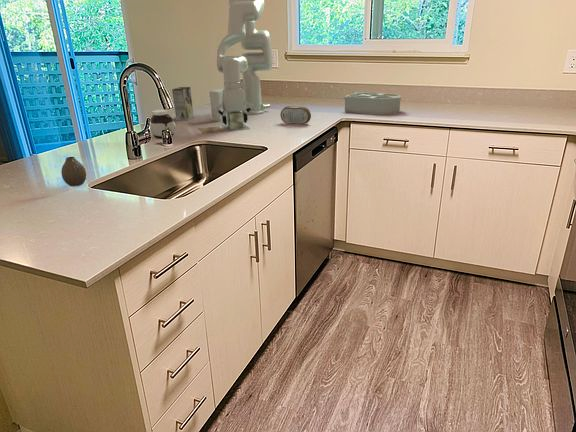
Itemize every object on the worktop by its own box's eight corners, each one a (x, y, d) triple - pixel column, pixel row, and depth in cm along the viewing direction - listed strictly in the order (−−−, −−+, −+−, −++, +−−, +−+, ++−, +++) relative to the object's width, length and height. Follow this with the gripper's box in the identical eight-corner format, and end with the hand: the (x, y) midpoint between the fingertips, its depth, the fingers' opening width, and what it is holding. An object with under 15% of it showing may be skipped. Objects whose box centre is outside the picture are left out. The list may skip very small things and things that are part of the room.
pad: (218, 127, 211) (218, 126, 211) (224, 132, 201) (224, 131, 201) (198, 129, 208) (197, 128, 208) (202, 134, 198) (202, 133, 198)
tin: (311, 124, 212) (311, 106, 209) (309, 125, 210) (309, 107, 206) (282, 122, 217) (281, 105, 214) (280, 124, 214) (279, 106, 211)
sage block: (240, 125, 211) (239, 110, 209) (243, 127, 206) (242, 112, 203) (228, 126, 210) (226, 112, 207) (231, 129, 204) (229, 114, 202)
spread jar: (154, 140, 191) (150, 113, 186) (149, 135, 200) (144, 109, 196) (181, 136, 196) (177, 110, 191) (175, 131, 205) (171, 106, 201)
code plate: (243, 124, 216) (243, 123, 216) (250, 130, 204) (250, 129, 203) (221, 126, 212) (221, 125, 212) (227, 132, 200) (227, 131, 200)
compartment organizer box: (356, 107, 251) (357, 92, 248) (404, 111, 237) (405, 94, 233) (344, 112, 239) (344, 96, 235) (393, 116, 224) (394, 99, 221)
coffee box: (183, 117, 238) (179, 86, 232) (194, 117, 237) (190, 86, 231) (175, 120, 230) (171, 89, 224) (187, 120, 229) (183, 89, 222)
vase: (69, 181, 142) (62, 155, 138) (91, 180, 142) (85, 154, 139) (61, 188, 135) (54, 161, 132) (83, 187, 136) (77, 160, 132)
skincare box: (222, 118, 231) (220, 88, 225) (232, 119, 228) (229, 88, 222) (211, 121, 225) (208, 90, 219) (221, 122, 222) (218, 91, 215)
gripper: (248, 83, 206) (250, 120, 213) (212, 86, 201) (215, 123, 208) (252, 85, 200) (255, 123, 206) (215, 88, 194) (219, 126, 201)
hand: (235, 123), depth 207 cm, fingers open, 9 cm apart
